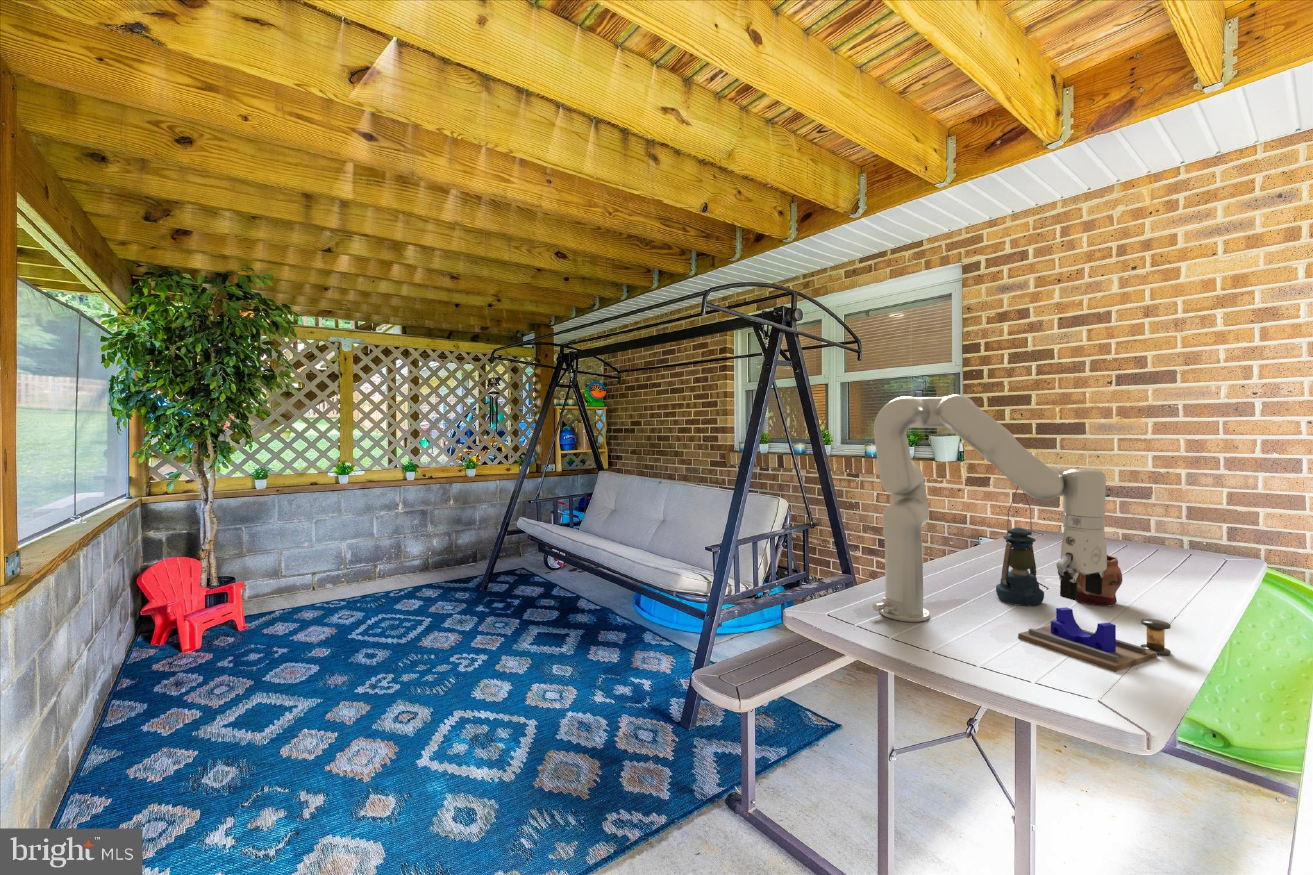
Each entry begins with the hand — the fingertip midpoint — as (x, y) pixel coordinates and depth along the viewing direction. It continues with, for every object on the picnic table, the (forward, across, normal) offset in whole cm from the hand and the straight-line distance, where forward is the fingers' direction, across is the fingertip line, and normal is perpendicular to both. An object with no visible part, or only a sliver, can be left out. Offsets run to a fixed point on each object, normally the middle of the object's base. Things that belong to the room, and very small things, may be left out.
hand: (1081, 595), depth 125 cm
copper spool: (+12, +12, -9) cm, 19 cm away
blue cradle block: (+11, 0, 0) cm, 11 cm away
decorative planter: (+12, +37, +16) cm, 43 cm away
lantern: (+13, +21, +27) cm, 37 cm away
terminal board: (+12, 0, -1) cm, 12 cm away
